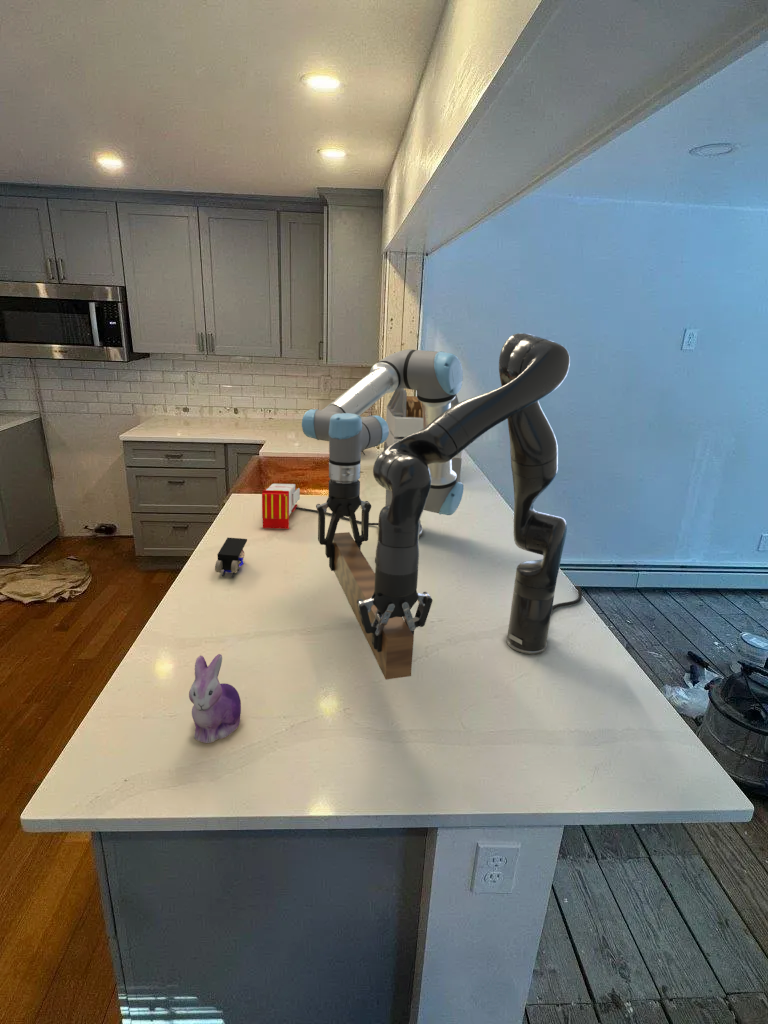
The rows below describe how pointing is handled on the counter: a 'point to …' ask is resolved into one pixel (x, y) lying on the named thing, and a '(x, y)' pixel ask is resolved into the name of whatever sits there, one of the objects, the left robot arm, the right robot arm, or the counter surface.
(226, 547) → the figurine character
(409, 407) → the slatted crate
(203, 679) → the figurine
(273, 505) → the toy
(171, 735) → the counter surface
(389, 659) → the beam
